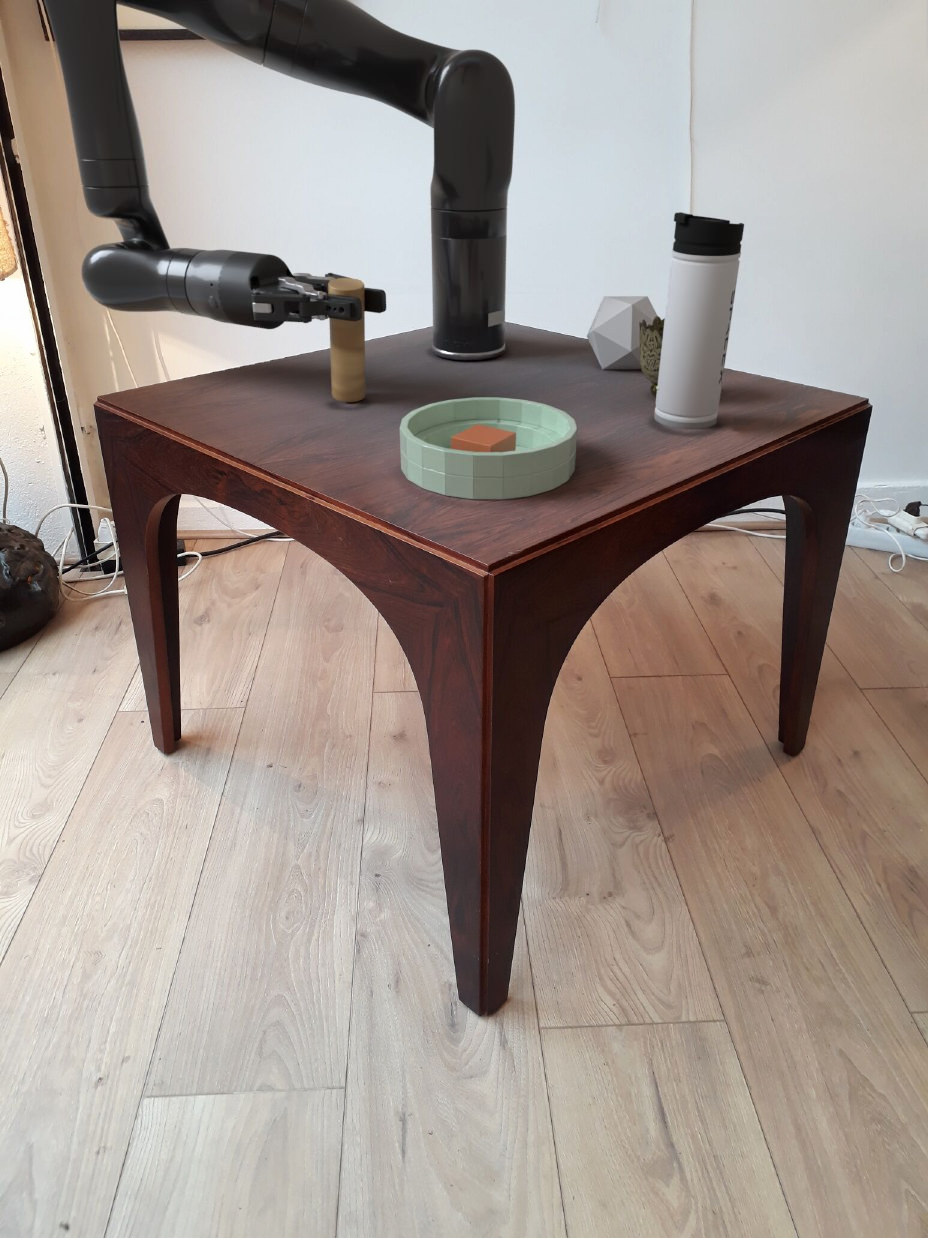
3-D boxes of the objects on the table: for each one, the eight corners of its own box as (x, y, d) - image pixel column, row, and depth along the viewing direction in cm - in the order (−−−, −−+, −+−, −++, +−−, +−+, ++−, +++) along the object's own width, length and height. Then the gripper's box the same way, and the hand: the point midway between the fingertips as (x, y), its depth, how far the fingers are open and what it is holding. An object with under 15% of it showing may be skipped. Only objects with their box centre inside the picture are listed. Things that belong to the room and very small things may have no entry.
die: (640, 386, 107) (687, 310, 106) (576, 344, 106) (622, 268, 105) (626, 391, 116) (670, 321, 114) (567, 353, 115) (610, 282, 113)
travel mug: (639, 418, 95) (660, 209, 84) (693, 411, 97) (720, 206, 86) (671, 437, 90) (697, 217, 79) (728, 429, 92) (760, 214, 81)
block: (476, 467, 81) (476, 423, 79) (515, 476, 79) (516, 432, 77) (451, 481, 78) (451, 436, 76) (490, 491, 76) (491, 446, 74)
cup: (667, 410, 97) (676, 334, 93) (618, 394, 102) (625, 321, 98) (714, 398, 101) (725, 324, 97) (664, 382, 106) (673, 312, 102)
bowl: (437, 435, 90) (436, 390, 88) (589, 453, 86) (593, 406, 84) (374, 492, 78) (371, 442, 75) (549, 516, 73) (552, 464, 71)
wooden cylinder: (345, 384, 100) (343, 274, 93) (371, 394, 99) (371, 283, 92) (325, 395, 98) (320, 283, 91) (351, 405, 97) (349, 292, 89)
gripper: (187, 261, 91) (327, 277, 84) (278, 242, 101) (409, 255, 94) (198, 337, 95) (333, 359, 88) (284, 311, 105) (410, 329, 98)
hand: (371, 305), depth 91 cm, fingers closed on wooden cylinder, 3 cm apart
